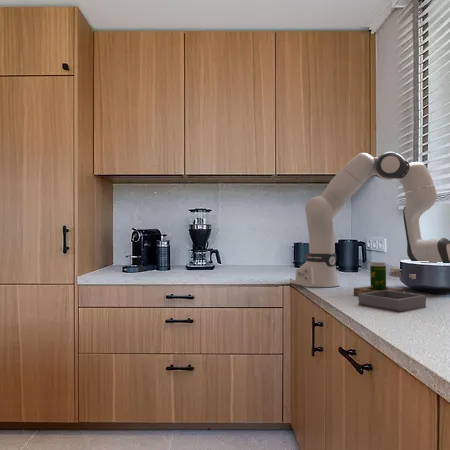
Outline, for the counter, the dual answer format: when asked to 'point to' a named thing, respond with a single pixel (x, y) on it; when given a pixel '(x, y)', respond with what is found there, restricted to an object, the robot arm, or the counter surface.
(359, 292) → the brown square board
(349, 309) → the counter surface
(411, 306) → the tray
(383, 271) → the beer can
